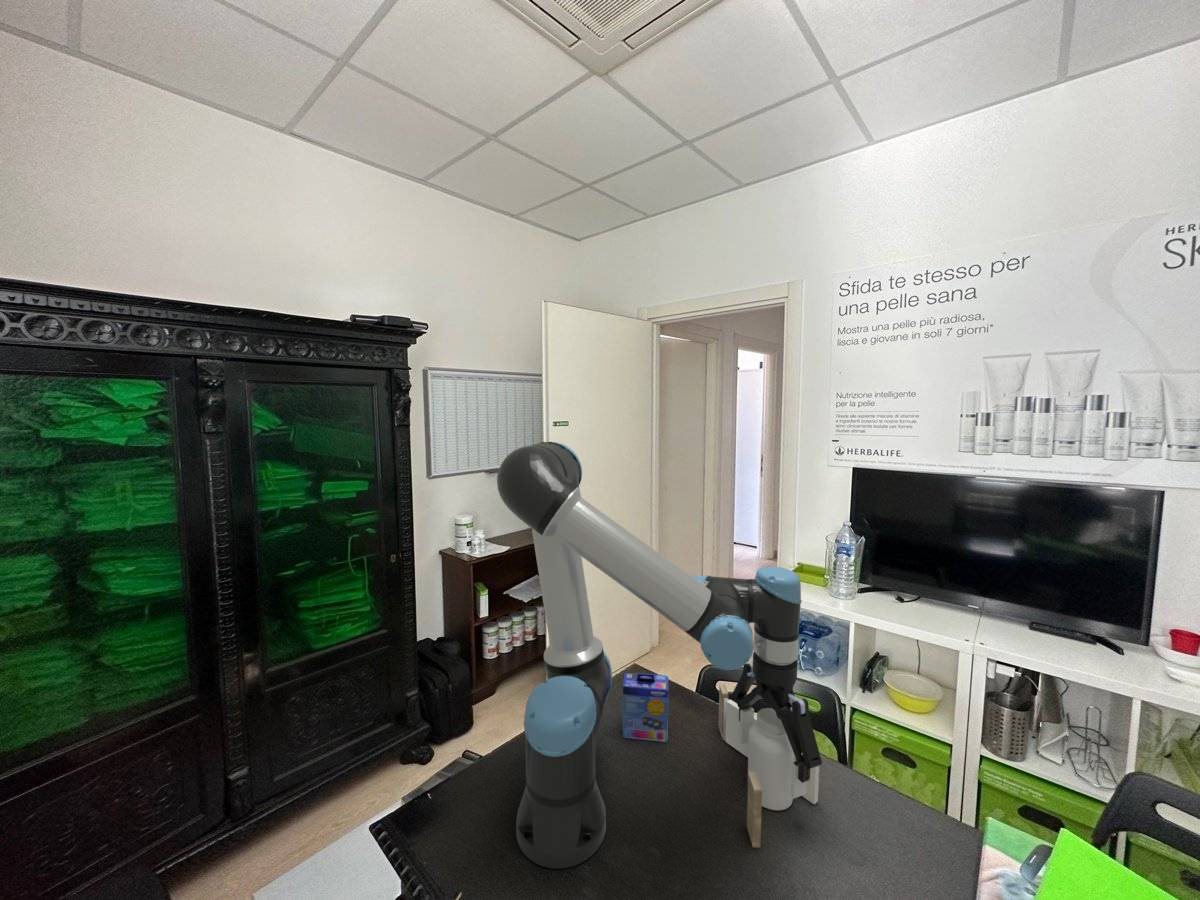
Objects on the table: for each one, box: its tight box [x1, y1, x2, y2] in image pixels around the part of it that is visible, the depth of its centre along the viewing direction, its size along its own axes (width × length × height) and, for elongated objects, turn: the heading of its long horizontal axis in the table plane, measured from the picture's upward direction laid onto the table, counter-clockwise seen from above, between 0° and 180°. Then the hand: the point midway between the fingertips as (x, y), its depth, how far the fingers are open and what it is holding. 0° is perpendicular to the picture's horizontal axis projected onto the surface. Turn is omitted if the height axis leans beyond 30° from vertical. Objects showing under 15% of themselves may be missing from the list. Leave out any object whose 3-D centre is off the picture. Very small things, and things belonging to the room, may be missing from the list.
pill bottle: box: [747, 707, 795, 811], centre depth 86 cm, size 8×8×15 cm
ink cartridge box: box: [622, 672, 670, 743], centre depth 102 cm, size 10×6×14 cm, turn 83°
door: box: [722, 697, 820, 805], centre depth 92 cm, size 1×21×9 cm, turn 36°
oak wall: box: [718, 683, 763, 849], centre depth 90 cm, size 1×29×10 cm, turn 177°
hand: (770, 766), depth 86 cm, fingers open, 13 cm apart
